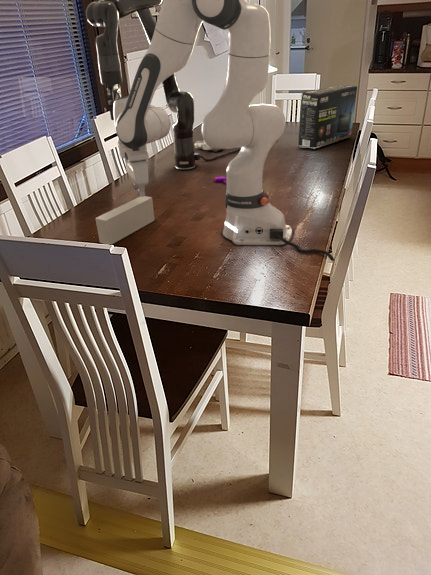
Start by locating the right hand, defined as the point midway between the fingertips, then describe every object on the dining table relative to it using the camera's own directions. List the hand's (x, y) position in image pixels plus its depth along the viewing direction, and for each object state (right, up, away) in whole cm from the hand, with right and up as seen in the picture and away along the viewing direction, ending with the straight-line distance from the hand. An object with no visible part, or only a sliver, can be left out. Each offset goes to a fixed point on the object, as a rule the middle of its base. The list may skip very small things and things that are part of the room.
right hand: (139, 192), depth 153 cm
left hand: (-11, +31, +16) cm, 36 cm away
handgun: (+31, +10, +37) cm, 49 cm away
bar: (-4, -13, +1) cm, 13 cm away
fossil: (+23, +42, +91) cm, 103 cm away
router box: (+84, +45, +91) cm, 132 cm away
